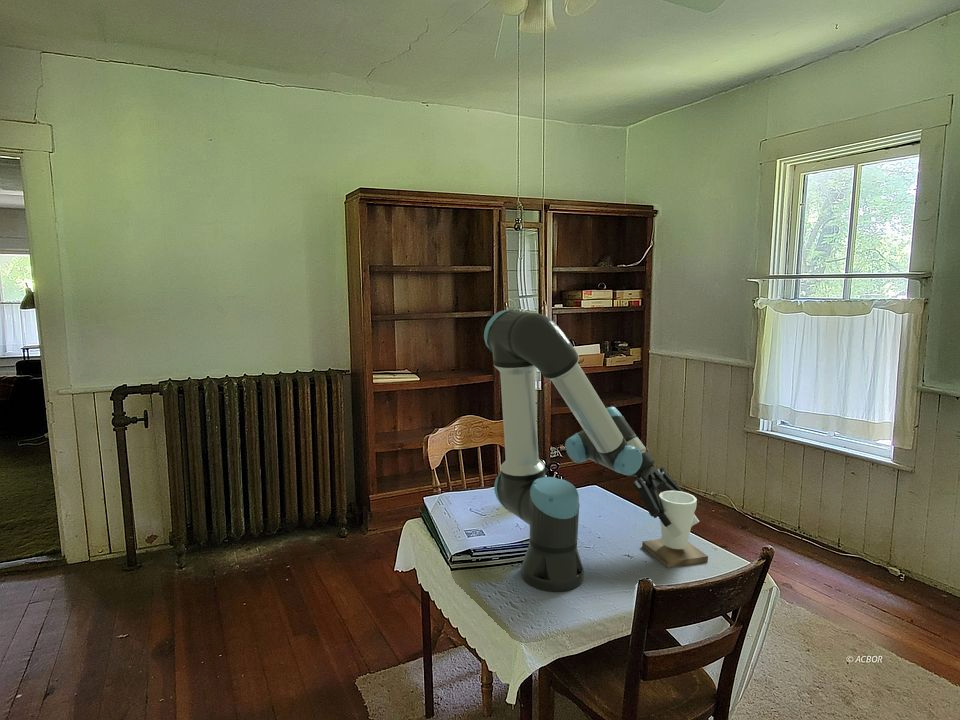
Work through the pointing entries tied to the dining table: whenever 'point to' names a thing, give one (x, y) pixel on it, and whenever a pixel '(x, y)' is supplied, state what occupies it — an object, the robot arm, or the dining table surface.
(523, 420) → the robot arm
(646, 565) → the dining table surface
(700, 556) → the walnut coaster
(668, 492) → the foam cup
